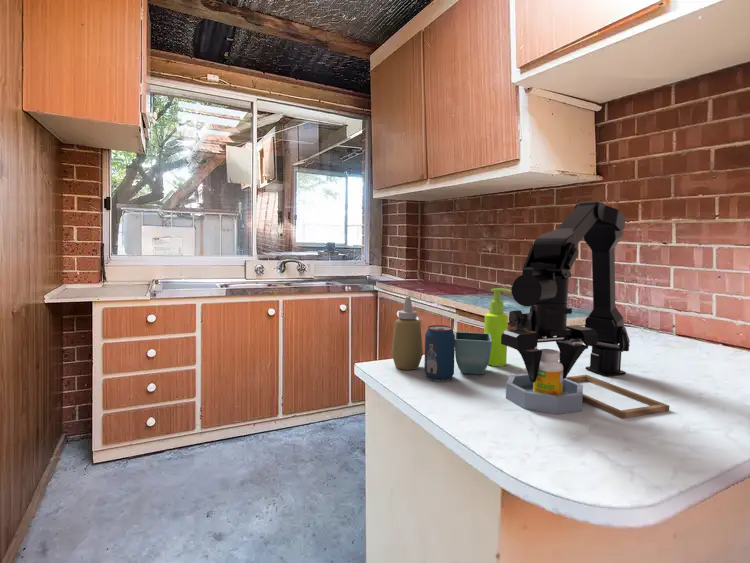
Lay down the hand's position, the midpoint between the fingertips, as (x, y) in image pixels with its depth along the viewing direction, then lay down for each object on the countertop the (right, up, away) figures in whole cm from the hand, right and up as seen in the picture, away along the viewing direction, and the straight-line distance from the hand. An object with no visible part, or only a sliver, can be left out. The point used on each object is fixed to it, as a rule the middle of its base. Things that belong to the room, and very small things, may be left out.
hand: (547, 379), depth 83 cm
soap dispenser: (-2, -3, +28) cm, 28 cm away
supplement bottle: (0, -4, 0) cm, 4 cm away
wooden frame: (+13, -5, +5) cm, 15 cm away
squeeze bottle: (-26, -3, +24) cm, 36 cm away
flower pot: (-10, -3, +21) cm, 24 cm away
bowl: (0, -5, +3) cm, 5 cm away
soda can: (-19, -3, +16) cm, 25 cm away
